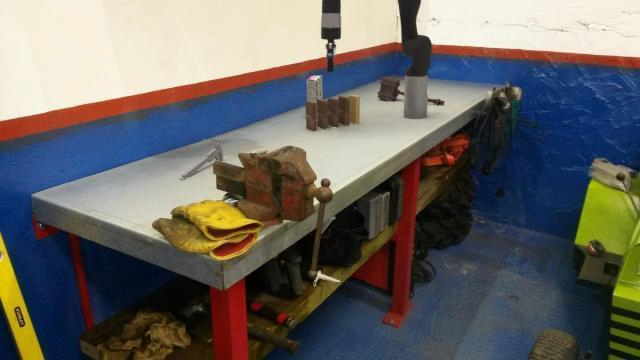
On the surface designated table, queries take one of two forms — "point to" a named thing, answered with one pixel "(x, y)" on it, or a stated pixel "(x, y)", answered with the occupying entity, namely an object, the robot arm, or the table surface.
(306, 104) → the domino
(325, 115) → the domino
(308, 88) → the candy bar box
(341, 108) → the domino
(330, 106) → the domino
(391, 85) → the hammer
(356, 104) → the domino
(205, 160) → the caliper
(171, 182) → the table surface
